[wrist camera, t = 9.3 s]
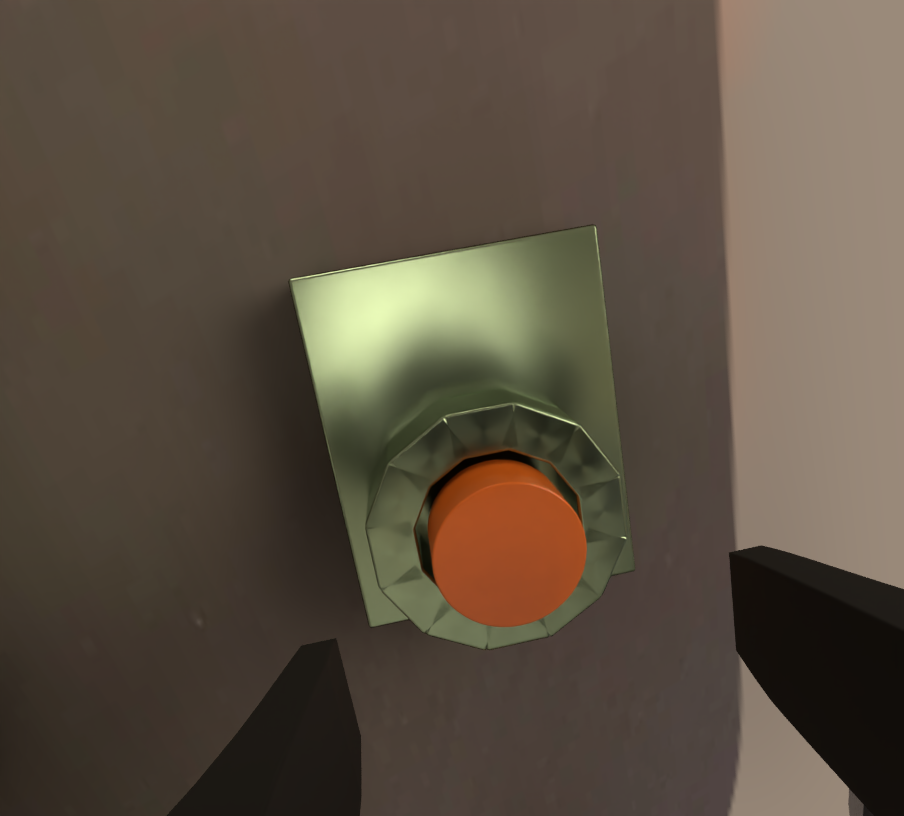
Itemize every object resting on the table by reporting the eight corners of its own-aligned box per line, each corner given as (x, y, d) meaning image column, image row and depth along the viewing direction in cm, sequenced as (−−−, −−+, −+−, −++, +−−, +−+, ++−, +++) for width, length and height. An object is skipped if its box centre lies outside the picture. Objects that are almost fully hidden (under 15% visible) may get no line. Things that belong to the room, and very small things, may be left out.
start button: (415, 474, 15) (418, 500, 13) (556, 446, 15) (577, 468, 13) (440, 602, 15) (447, 642, 14) (573, 573, 16) (595, 610, 14)
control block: (299, 278, 17) (272, 278, 13) (571, 230, 17) (624, 216, 13) (373, 597, 19) (368, 678, 15) (610, 546, 20) (665, 613, 16)
